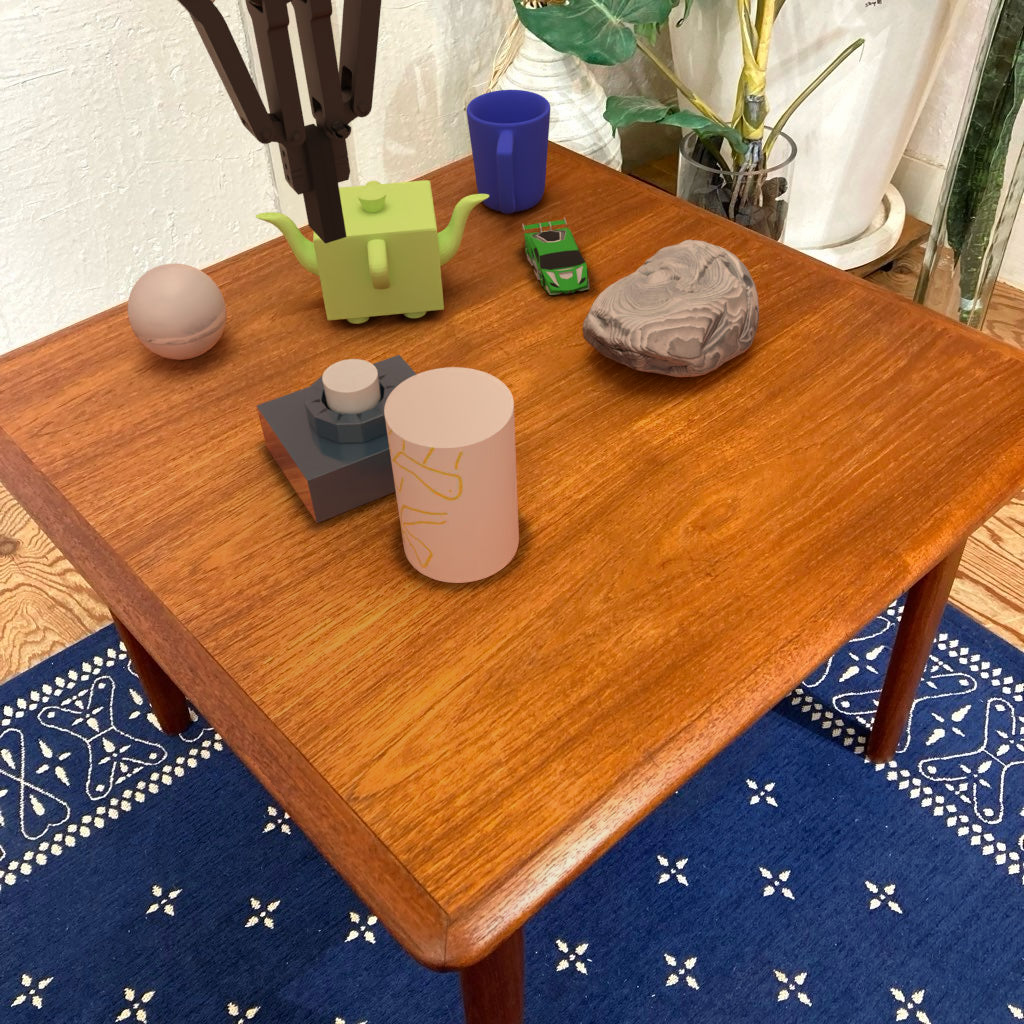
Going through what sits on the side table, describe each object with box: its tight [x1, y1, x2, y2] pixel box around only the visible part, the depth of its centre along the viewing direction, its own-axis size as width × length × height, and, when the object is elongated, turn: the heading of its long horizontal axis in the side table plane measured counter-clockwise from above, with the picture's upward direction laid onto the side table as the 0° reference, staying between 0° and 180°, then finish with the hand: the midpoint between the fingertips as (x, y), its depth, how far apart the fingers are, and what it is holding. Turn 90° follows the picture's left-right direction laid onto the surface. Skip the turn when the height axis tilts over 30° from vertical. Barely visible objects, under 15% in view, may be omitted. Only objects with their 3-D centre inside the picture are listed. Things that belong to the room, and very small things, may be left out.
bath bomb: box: [127, 262, 228, 361], centre depth 90 cm, size 8×8×8 cm
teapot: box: [255, 179, 489, 325], centre depth 94 cm, size 15×13×11 cm
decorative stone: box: [582, 239, 760, 378], centre depth 89 cm, size 15×14×10 cm
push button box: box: [256, 354, 417, 524], centre depth 80 cm, size 12×10×6 cm
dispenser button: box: [321, 358, 381, 414], centre depth 78 cm, size 4×4×2 cm
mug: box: [466, 89, 551, 215], centre depth 106 cm, size 8×12×10 cm
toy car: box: [521, 217, 590, 296], centre depth 100 cm, size 10×5×2 cm, turn 13°
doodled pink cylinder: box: [384, 366, 520, 584], centre depth 71 cm, size 8×8×12 cm
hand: (327, 231), depth 69 cm, fingers closed
